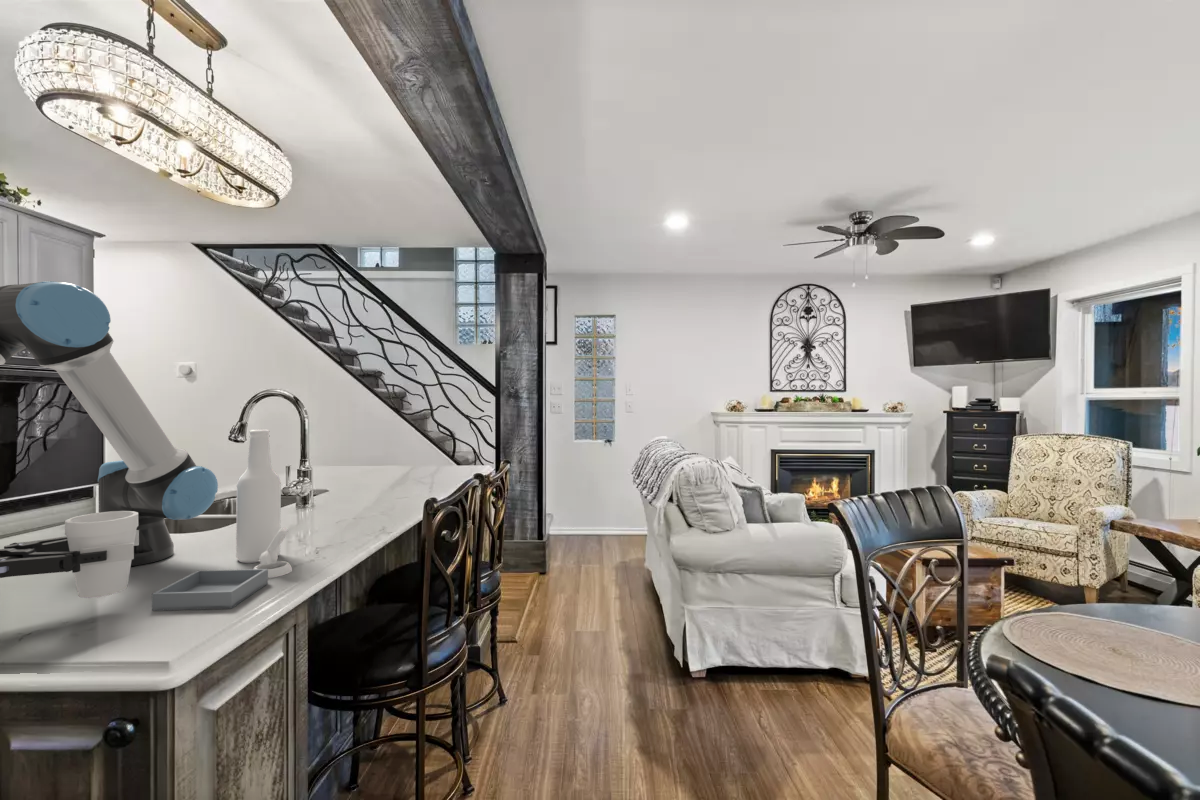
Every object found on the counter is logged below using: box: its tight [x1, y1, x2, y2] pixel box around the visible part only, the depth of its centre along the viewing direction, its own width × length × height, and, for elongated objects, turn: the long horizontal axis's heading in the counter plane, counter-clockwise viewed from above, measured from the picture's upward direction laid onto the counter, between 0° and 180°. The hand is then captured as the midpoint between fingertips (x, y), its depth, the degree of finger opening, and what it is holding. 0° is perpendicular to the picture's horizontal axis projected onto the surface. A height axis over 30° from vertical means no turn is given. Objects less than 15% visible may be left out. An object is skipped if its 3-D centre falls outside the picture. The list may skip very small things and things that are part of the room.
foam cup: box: [64, 511, 138, 599], centre depth 96 cm, size 10×9×13 cm
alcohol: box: [235, 429, 282, 564], centre depth 129 cm, size 9×9×30 cm
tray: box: [151, 568, 269, 612], centre depth 105 cm, size 13×13×3 cm
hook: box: [253, 526, 293, 579], centre depth 119 cm, size 8×12×7 cm
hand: (136, 543), depth 99 cm, fingers closed on foam cup, 9 cm apart
